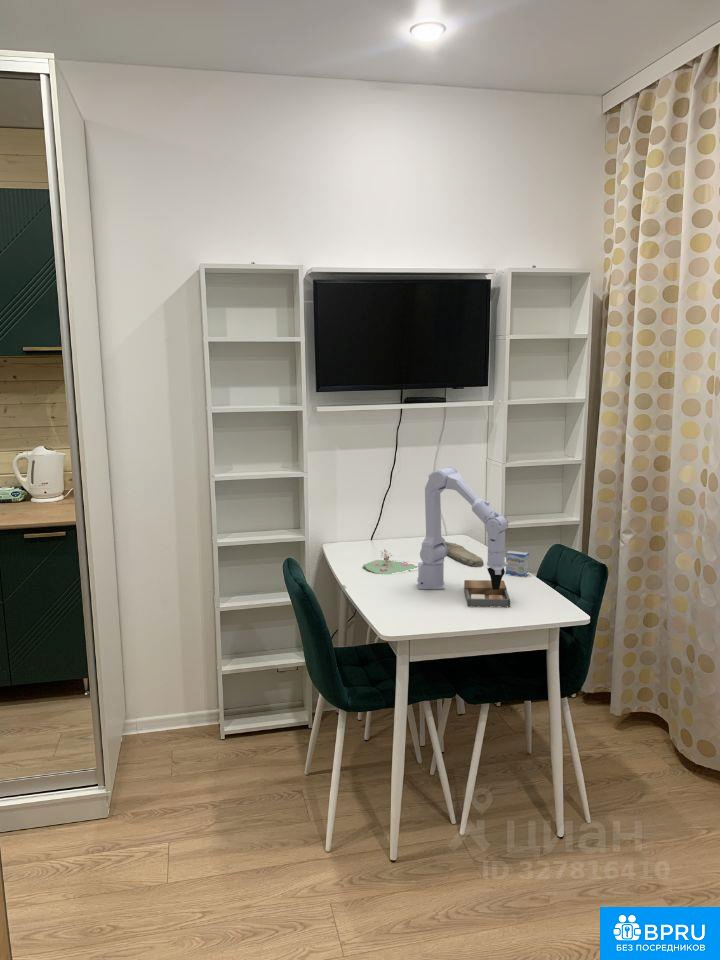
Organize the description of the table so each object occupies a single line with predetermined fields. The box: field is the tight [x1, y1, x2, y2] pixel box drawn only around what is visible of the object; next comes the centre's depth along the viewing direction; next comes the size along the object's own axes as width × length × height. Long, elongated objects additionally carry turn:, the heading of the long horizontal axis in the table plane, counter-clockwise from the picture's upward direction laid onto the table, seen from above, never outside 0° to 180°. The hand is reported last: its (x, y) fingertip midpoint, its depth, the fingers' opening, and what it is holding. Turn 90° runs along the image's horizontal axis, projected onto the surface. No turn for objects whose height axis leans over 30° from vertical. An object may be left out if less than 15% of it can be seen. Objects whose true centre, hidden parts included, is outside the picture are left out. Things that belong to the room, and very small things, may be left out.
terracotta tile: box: [489, 595, 503, 599], centre depth 251 cm, size 4×4×2 cm
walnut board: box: [463, 579, 508, 596], centre depth 264 cm, size 14×9×3 cm, turn 85°
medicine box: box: [505, 550, 530, 577], centre depth 284 cm, size 8×4×9 cm, turn 62°
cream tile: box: [471, 594, 485, 599], centre depth 252 cm, size 4×4×2 cm
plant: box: [362, 549, 418, 575], centre depth 297 cm, size 25×21×9 cm
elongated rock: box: [445, 541, 485, 568], centre depth 311 cm, size 35×5×10 cm
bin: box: [465, 589, 511, 608], centre depth 254 cm, size 14×11×2 cm
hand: (495, 589), depth 256 cm, fingers closed
